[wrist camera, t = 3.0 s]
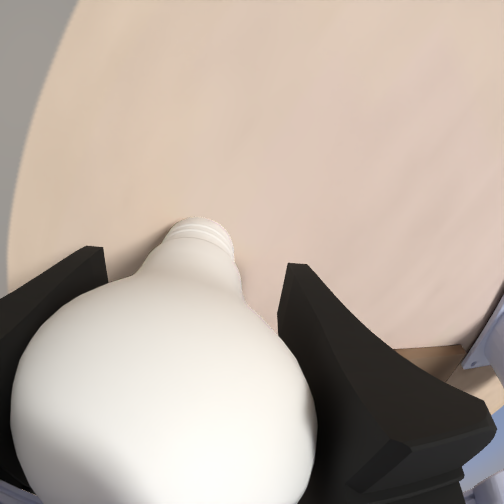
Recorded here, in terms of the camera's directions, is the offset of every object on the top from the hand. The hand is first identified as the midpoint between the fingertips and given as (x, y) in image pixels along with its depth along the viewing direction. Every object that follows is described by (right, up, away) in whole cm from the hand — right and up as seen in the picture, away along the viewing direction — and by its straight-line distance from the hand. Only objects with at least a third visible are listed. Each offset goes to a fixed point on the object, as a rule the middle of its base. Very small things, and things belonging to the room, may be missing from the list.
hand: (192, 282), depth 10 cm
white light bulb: (0, +2, +3) cm, 3 cm away
